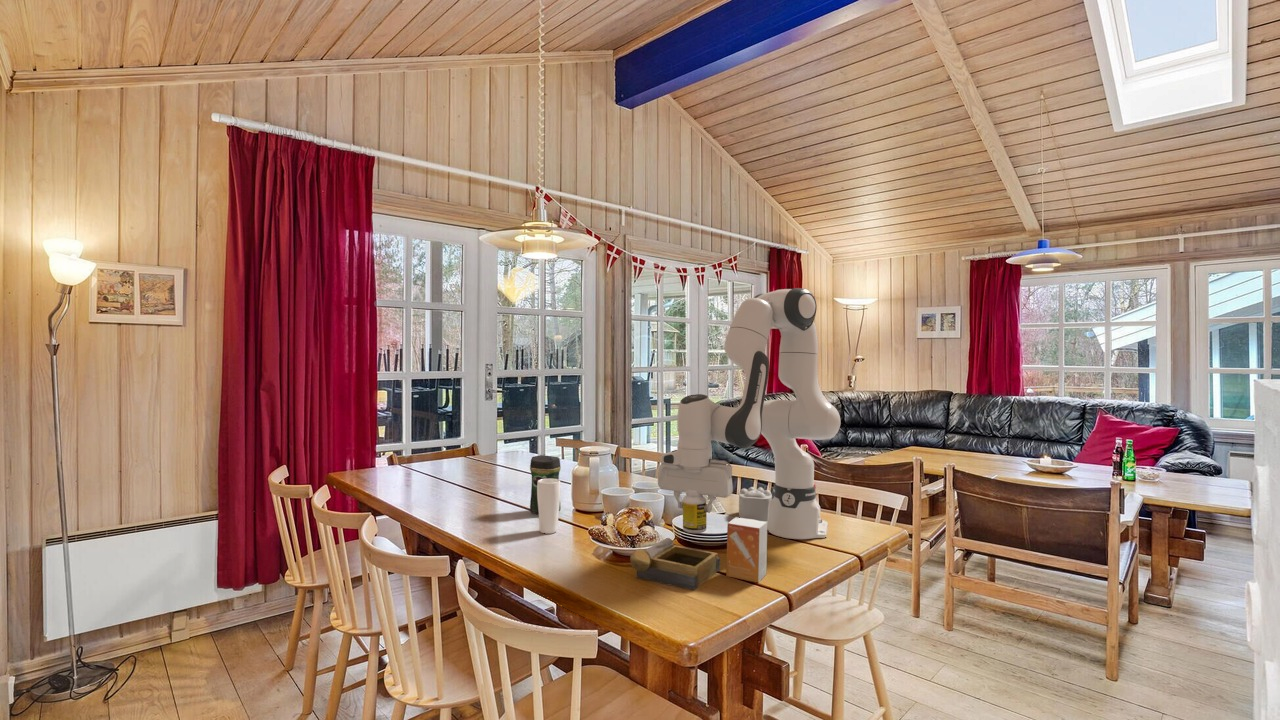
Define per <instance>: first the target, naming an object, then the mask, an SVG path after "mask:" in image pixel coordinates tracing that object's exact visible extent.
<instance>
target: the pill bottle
mask: <svg viewBox="0 0 1280 720" xmlns="http://www.w3.org/2000/svg"><path fill="white" fill-rule="evenodd" d="M682 499H683V508H682V529H683V531H684V532H686V533H689V534H701V533H704V532H706V531H707V512H704V505H706V504H707V498H706V497H705V495H700V494H697V491H694V490H687V491H686V493H685V496H684V497H682Z"/></svg>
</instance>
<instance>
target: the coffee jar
mask: <svg viewBox="0 0 1280 720" xmlns="http://www.w3.org/2000/svg"><path fill="white" fill-rule="evenodd" d="M561 467H562V466H561V459H560V457H558V456H552V455H542V454H541V455H539V454H538V455H535V456H532V457H531V459H530V465H529V470H530V471H529V472H530V475H531V491H530V502H529V511H530V513H532V514H536V515H539V512H538V499H537V483H538V480H541V479H549V478H551V479H558V480H560V479H559V478H560V477H559V476H560V472H561ZM560 511H561V504H560V505H559V512H560Z"/></svg>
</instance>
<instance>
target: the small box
mask: <svg viewBox="0 0 1280 720" xmlns="http://www.w3.org/2000/svg"><path fill="white" fill-rule="evenodd" d="M726 530H727V531H726V532H727V535H726V540H727V541H726V571H725V572H726V573H725V575H726V577H727V578H735V579H738V580H744V581H747V582H752V583H756V582H759V581H760V580H761V581H762V580H763V579H764V578H765V576H767V562H768V561H767V555H768V549H767V548H768V547H767V546H768V530H767V521H758V520H753V519H745V518H739V516H735V517H734V518H733V519H731V520H730V521H729V522H727V529H726ZM761 581H760V582H761ZM760 582H759V583H760Z"/></svg>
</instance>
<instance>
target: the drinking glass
mask: <svg viewBox="0 0 1280 720" xmlns="http://www.w3.org/2000/svg"><path fill="white" fill-rule="evenodd" d="M561 489H562V488H561V480H560V479H559V480H558V479H551V478H549V479H541V480H538V483H537V499H538V512H539V514H538V523H539V524H538V525H539V528H538V529H539V532H540V533H542V534H544V533H545V534H546V535H549V534H550V535H551V534H555V533H557V532H558V530H559V515H560V513H559V512H560V511H559V505H560V506H561V491H562V490H561Z"/></svg>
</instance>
